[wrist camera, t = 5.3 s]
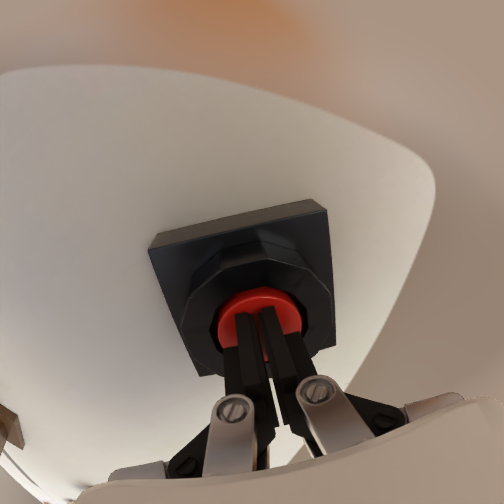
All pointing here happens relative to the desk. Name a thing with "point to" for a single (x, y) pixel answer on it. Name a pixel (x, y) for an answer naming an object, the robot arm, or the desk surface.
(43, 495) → the desk surface
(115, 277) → the desk surface
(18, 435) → the bracket
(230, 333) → the button
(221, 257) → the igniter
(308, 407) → the robot arm
